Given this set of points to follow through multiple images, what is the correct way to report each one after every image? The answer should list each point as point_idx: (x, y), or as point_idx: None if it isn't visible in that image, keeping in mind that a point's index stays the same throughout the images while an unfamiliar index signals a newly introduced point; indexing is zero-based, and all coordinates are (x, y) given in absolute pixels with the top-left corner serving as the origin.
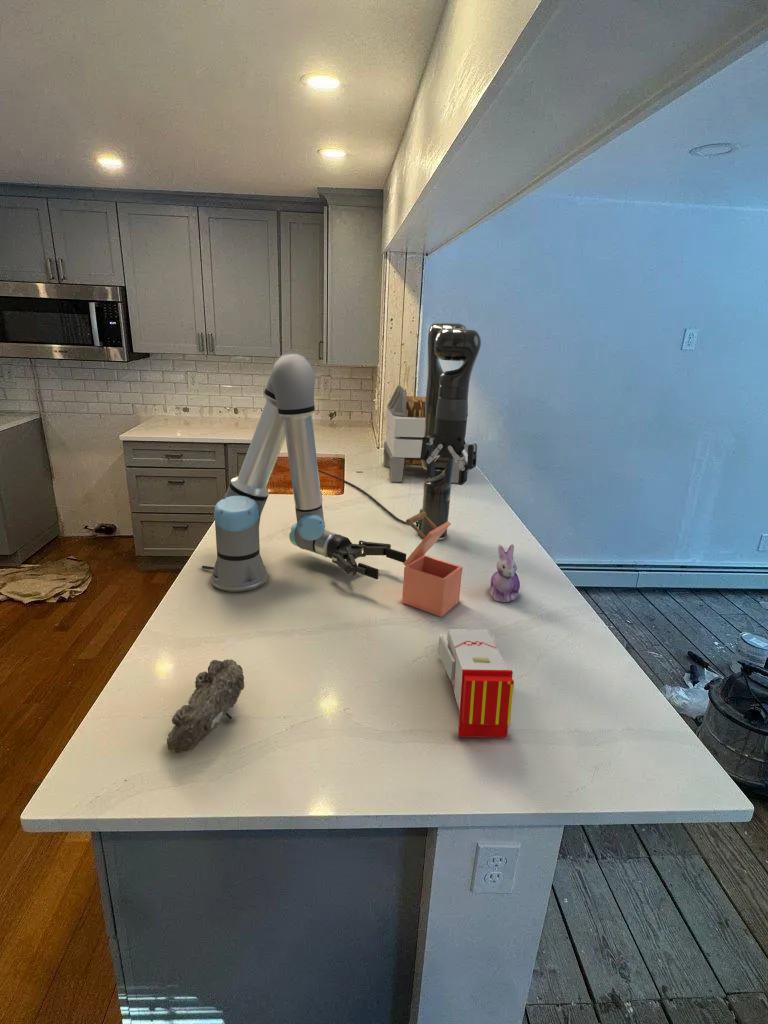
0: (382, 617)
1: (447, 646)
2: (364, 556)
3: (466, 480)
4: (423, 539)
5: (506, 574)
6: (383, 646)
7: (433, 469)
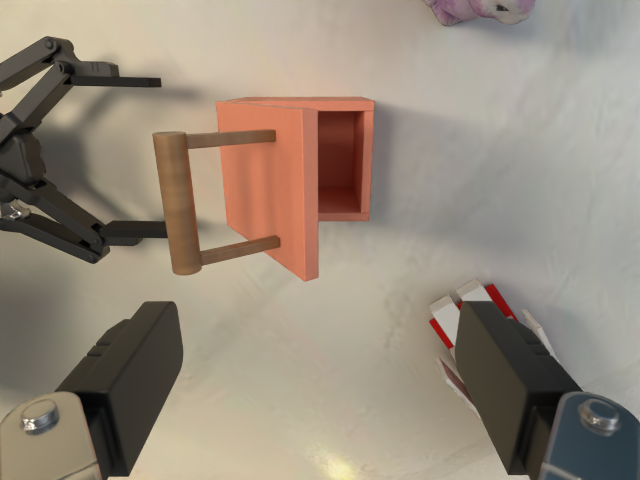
0: (259, 269)
1: (474, 406)
2: (40, 123)
3: (527, 332)
4: (282, 264)
5: (509, 24)
6: (321, 342)
7: (149, 372)
